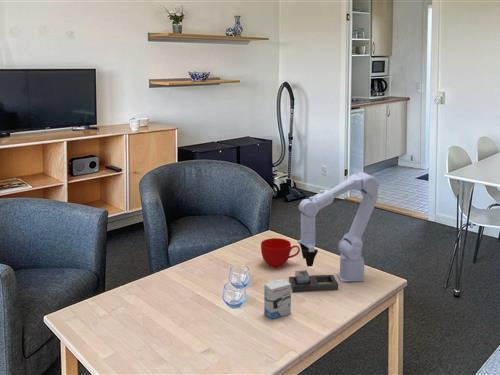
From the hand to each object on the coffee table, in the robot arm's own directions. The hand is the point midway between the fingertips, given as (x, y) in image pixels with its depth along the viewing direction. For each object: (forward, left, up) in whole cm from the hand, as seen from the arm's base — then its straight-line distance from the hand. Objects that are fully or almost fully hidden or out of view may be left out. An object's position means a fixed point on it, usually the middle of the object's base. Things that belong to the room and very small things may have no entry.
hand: (307, 262), depth 200 cm
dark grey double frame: (-2, +3, -9) cm, 10 cm away
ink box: (+15, +23, -10) cm, 29 cm away
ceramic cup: (+8, -19, -10) cm, 23 cm away
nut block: (+3, +3, -9) cm, 10 cm away
